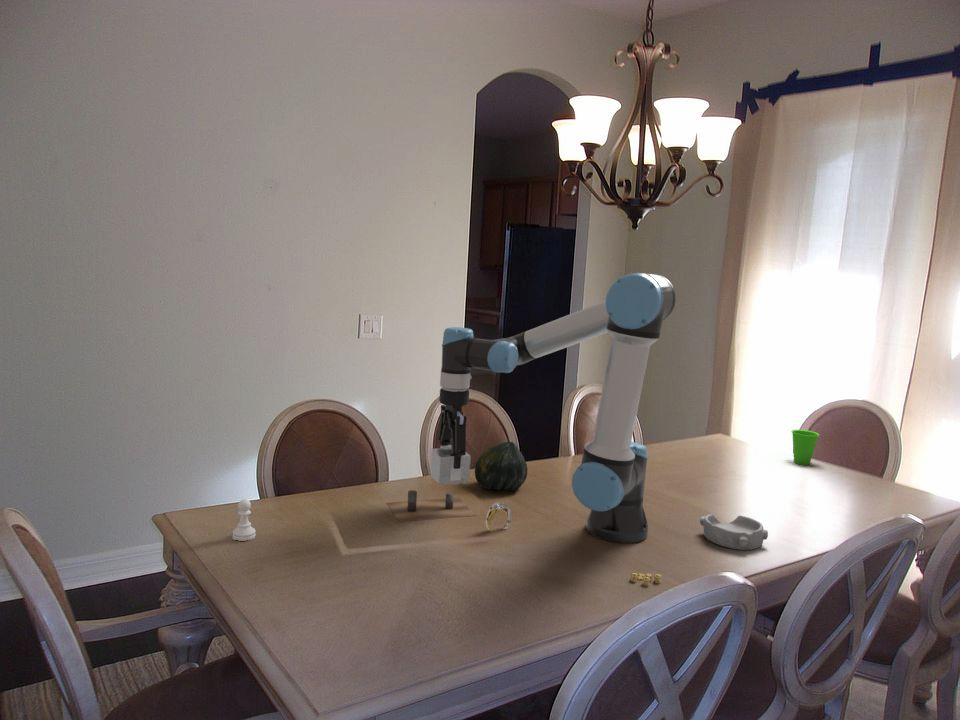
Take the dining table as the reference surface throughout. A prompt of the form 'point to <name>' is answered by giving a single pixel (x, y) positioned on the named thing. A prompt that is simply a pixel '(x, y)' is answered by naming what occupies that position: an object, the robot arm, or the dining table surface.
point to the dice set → (645, 578)
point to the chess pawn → (244, 523)
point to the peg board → (429, 508)
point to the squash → (501, 468)
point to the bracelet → (491, 514)
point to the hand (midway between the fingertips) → (449, 474)
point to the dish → (734, 532)
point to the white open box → (447, 466)
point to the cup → (803, 445)
